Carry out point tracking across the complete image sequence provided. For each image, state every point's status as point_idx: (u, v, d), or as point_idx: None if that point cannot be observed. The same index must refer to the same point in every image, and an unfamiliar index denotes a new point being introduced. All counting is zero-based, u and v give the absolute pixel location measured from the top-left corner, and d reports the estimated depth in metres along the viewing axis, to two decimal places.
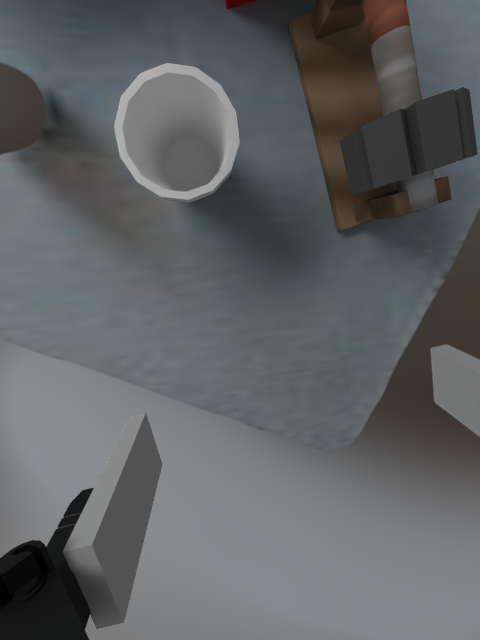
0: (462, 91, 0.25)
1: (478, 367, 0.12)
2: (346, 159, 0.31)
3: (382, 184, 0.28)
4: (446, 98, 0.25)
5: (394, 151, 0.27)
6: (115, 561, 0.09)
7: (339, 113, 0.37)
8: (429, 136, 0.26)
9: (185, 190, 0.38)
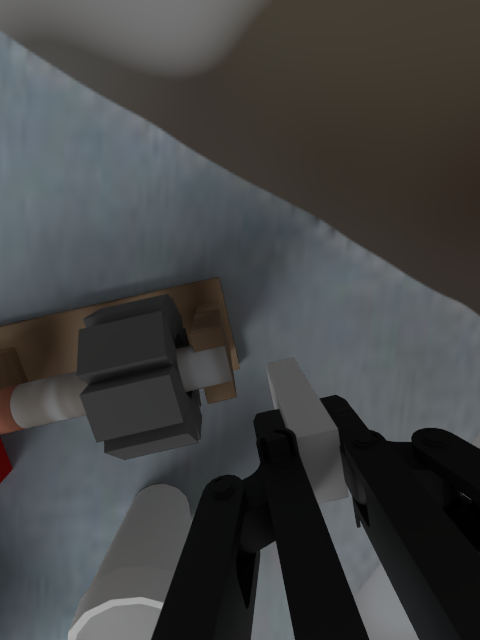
0: (81, 374, 0.18)
1: (295, 379, 0.15)
2: None
3: (194, 441, 0.22)
4: (91, 404, 0.18)
5: (155, 444, 0.20)
6: None
7: None
8: (138, 421, 0.19)
9: None
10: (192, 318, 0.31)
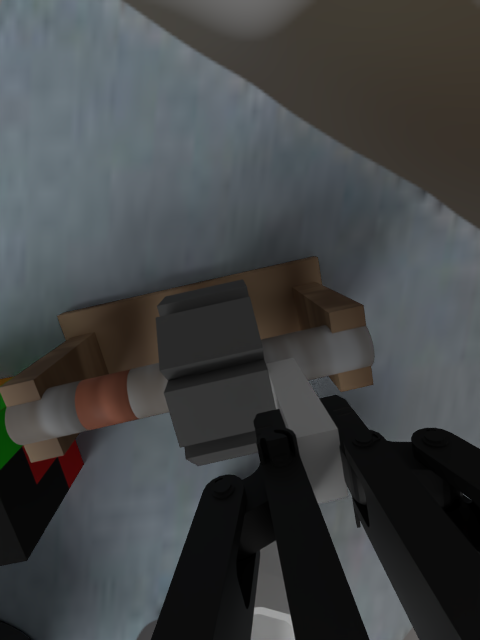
0: (165, 369, 0.16)
1: (295, 379, 0.15)
2: None
3: None
4: (176, 403, 0.16)
5: (240, 449, 0.18)
6: None
7: None
8: (228, 423, 0.16)
9: None
10: (286, 301, 0.28)
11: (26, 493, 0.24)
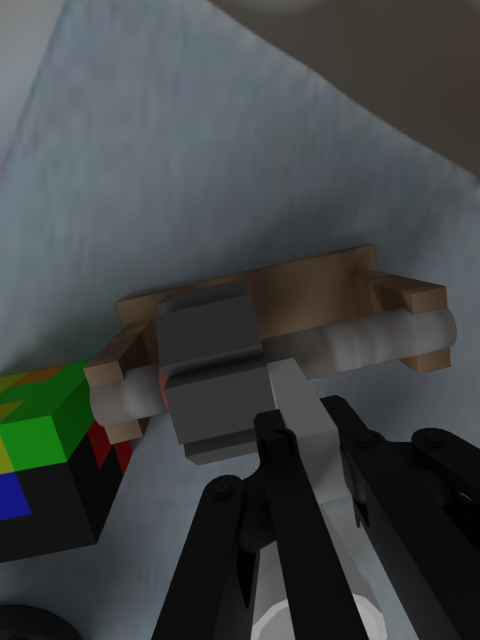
0: (165, 366, 0.16)
1: (295, 379, 0.15)
2: None
3: None
4: (176, 399, 0.16)
5: (240, 448, 0.18)
6: None
7: None
8: (227, 420, 0.16)
9: None
10: (341, 289, 0.29)
11: (92, 477, 0.24)
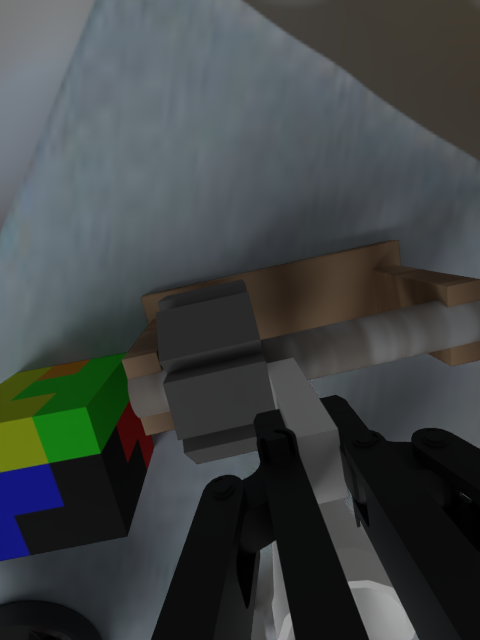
0: (164, 360, 0.16)
1: (295, 379, 0.15)
2: None
3: None
4: (175, 394, 0.16)
5: (239, 445, 0.18)
6: None
7: None
8: (226, 416, 0.16)
9: None
10: (365, 284, 0.29)
11: (122, 470, 0.24)
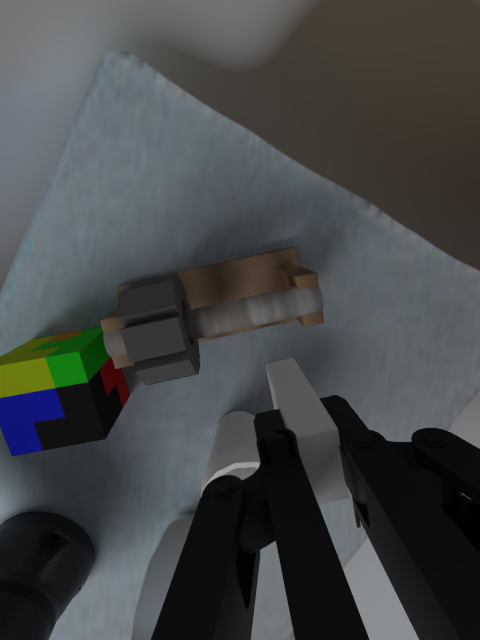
0: (121, 317, 0.29)
1: (295, 379, 0.15)
2: None
3: (193, 370, 0.32)
4: (127, 336, 0.29)
5: (167, 369, 0.30)
6: None
7: None
8: (156, 349, 0.29)
9: None
10: (274, 277, 0.41)
11: (102, 398, 0.37)
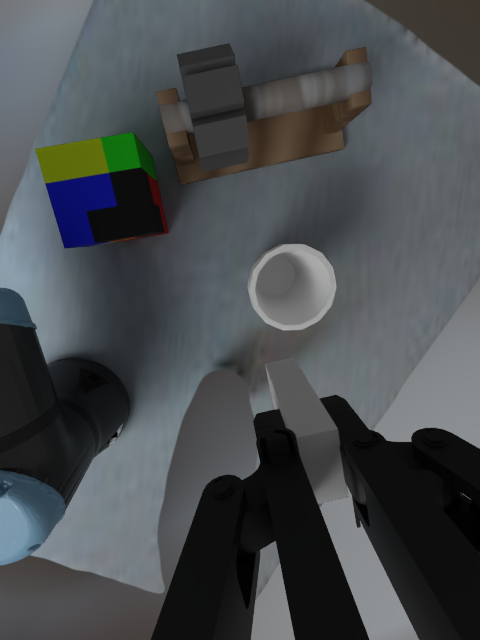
0: (182, 66, 0.30)
1: (295, 379, 0.15)
2: (218, 167, 0.36)
3: (247, 140, 0.33)
4: (188, 83, 0.30)
5: (223, 130, 0.31)
6: None
7: (249, 144, 0.43)
8: (216, 99, 0.30)
9: (291, 281, 0.48)
10: None
11: (151, 199, 0.38)
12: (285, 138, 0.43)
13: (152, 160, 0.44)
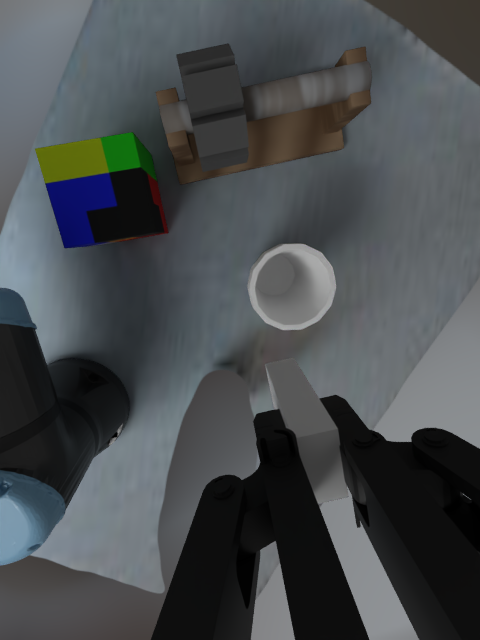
0: (182, 66, 0.30)
1: (295, 379, 0.15)
2: (218, 167, 0.36)
3: (247, 139, 0.33)
4: (187, 83, 0.30)
5: (223, 129, 0.31)
6: None
7: (249, 144, 0.43)
8: (215, 98, 0.30)
9: (290, 281, 0.48)
10: None
11: (151, 199, 0.38)
12: (284, 138, 0.43)
13: (152, 160, 0.44)
